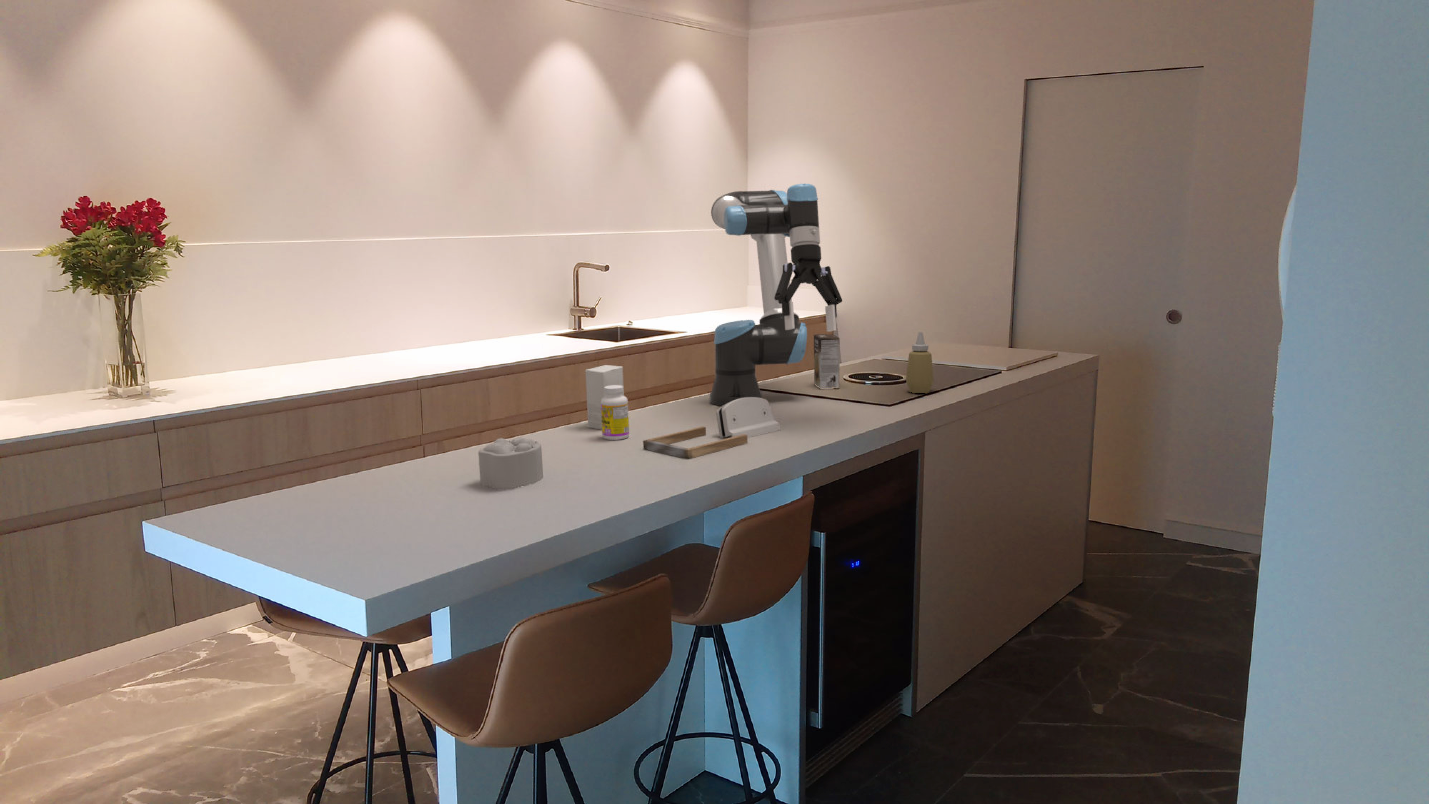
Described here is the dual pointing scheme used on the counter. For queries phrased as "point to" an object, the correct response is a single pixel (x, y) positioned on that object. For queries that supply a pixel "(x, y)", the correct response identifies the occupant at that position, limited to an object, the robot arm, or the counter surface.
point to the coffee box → (826, 360)
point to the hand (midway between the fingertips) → (811, 330)
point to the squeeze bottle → (919, 367)
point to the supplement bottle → (614, 413)
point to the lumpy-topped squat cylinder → (510, 463)
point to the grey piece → (746, 418)
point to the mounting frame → (663, 446)
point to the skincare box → (600, 390)
